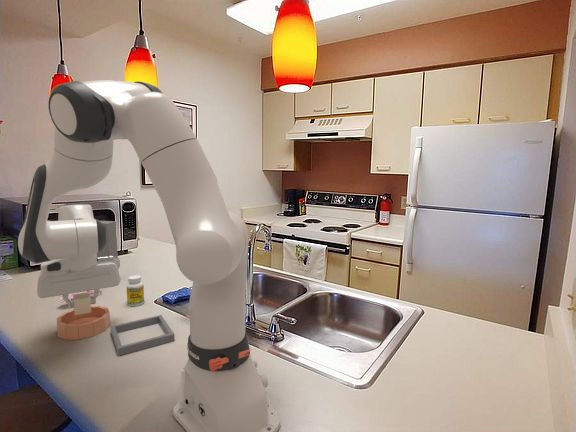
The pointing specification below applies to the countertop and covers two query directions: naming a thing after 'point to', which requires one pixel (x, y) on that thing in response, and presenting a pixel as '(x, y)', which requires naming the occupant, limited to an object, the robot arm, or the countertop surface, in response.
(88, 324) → the bowl
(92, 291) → the rabbit figure
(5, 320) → the countertop surface
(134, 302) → the supplement bottle
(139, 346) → the grey rectangular frame
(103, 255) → the tall grey upright pillar
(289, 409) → the countertop surface
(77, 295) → the cream block
